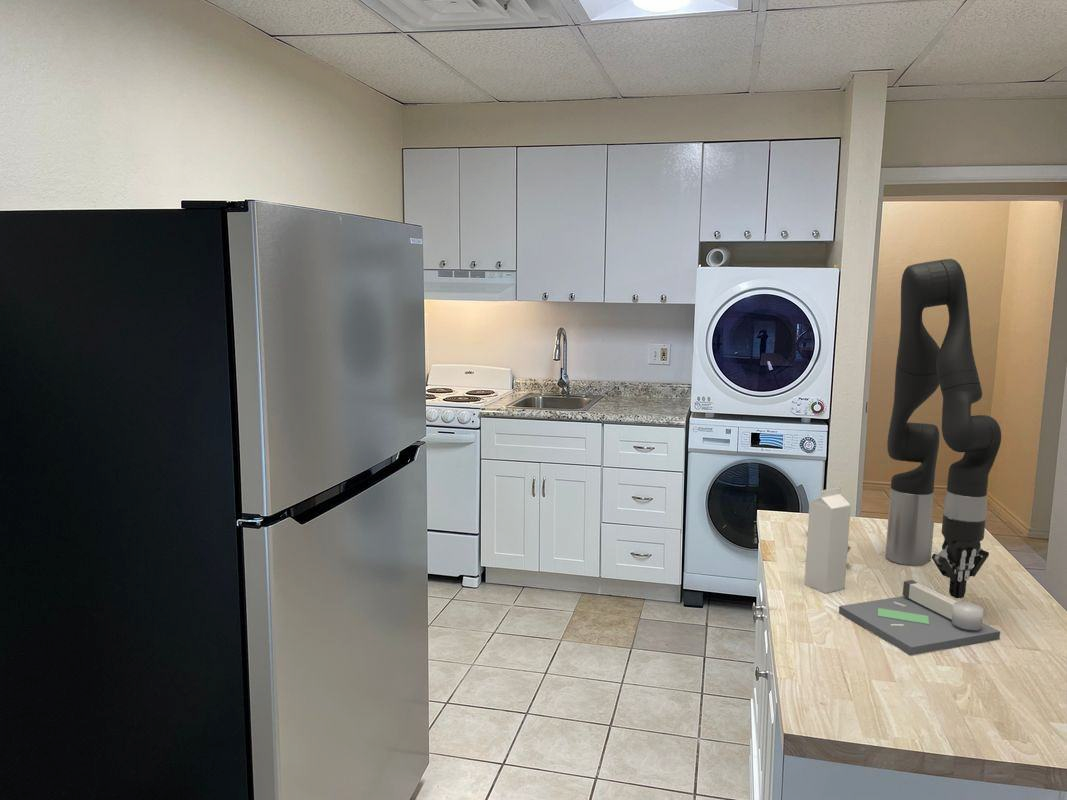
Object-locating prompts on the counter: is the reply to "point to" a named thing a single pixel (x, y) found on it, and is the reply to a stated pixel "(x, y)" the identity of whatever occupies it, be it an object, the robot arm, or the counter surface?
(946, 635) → the board
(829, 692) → the counter surface
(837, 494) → the milk
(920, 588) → the tuning lever
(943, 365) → the robot arm
